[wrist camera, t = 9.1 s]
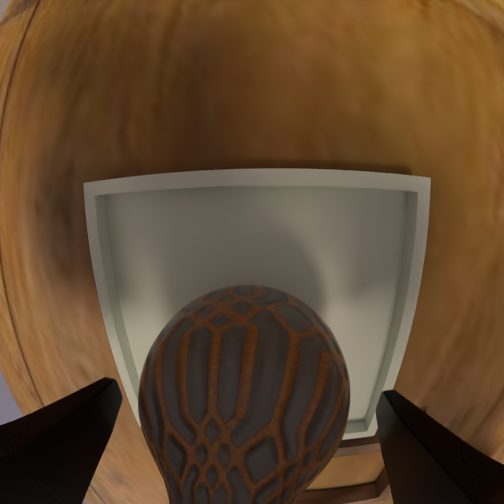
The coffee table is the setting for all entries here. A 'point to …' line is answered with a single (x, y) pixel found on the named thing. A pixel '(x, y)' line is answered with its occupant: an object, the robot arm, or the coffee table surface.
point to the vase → (243, 398)
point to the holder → (354, 498)
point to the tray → (264, 258)
